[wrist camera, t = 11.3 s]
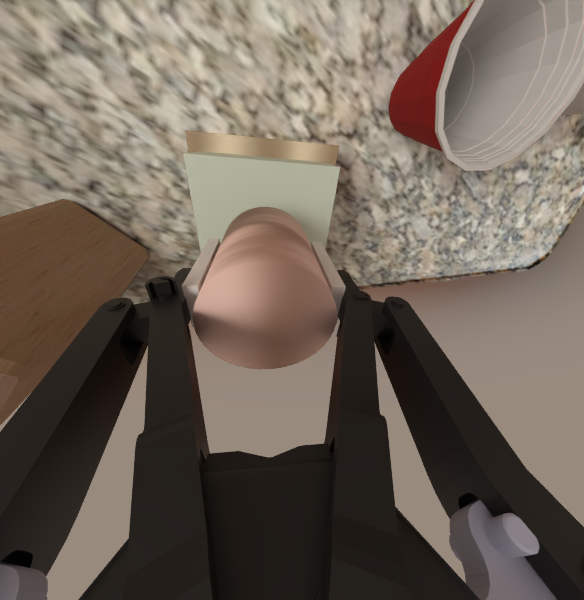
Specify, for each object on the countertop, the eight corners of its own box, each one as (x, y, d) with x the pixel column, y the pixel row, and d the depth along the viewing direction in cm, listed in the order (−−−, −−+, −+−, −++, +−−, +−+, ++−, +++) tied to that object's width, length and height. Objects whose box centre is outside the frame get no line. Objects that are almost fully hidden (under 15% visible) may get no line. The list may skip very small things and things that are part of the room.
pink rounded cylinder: (227, 286, 20) (205, 371, 12) (217, 204, 15) (176, 259, 8) (303, 287, 20) (324, 367, 13) (313, 209, 16) (351, 263, 9)
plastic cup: (431, 170, 27) (524, 186, 17) (351, 149, 25) (407, 154, 15) (494, 42, 21) (690, -43, 11) (395, 0, 19) (535, -149, 9)
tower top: (215, 267, 27) (207, 289, 23) (199, 151, 20) (183, 153, 16) (310, 269, 28) (317, 290, 24) (326, 162, 21) (340, 167, 17)
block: (154, 250, 29) (23, 382, 13) (122, 295, 33) (-14, 442, 17) (67, 193, 24) (-307, 291, 8) (39, 252, 28) (-262, 402, 12)
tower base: (215, 255, 31) (208, 271, 27) (198, 132, 23) (185, 130, 19) (310, 257, 33) (317, 273, 29) (326, 145, 25) (338, 145, 21)
